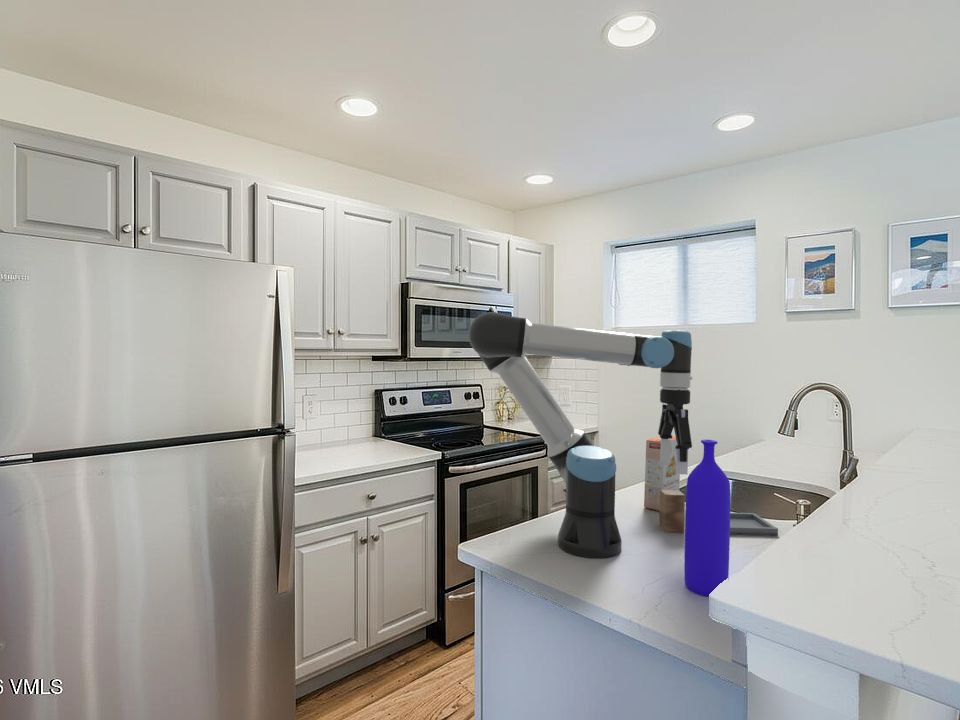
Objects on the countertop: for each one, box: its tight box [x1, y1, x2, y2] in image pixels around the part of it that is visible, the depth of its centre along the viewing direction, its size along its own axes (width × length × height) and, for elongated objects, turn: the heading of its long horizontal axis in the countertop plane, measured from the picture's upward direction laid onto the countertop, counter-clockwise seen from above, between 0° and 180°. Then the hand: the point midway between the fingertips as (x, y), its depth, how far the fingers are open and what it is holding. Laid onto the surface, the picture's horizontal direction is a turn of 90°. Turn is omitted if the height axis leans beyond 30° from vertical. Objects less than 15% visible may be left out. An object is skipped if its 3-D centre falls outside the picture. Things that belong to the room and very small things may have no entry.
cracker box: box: [643, 435, 681, 512], centre depth 163 cm, size 14×6×21 cm, turn 138°
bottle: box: [683, 439, 731, 598], centre depth 106 cm, size 8×8×30 cm
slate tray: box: [730, 512, 779, 537], centre depth 144 cm, size 13×13×2 cm
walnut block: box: [658, 489, 686, 534], centre depth 141 cm, size 5×5×10 cm
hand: (673, 468), depth 141 cm, fingers open, 13 cm apart
